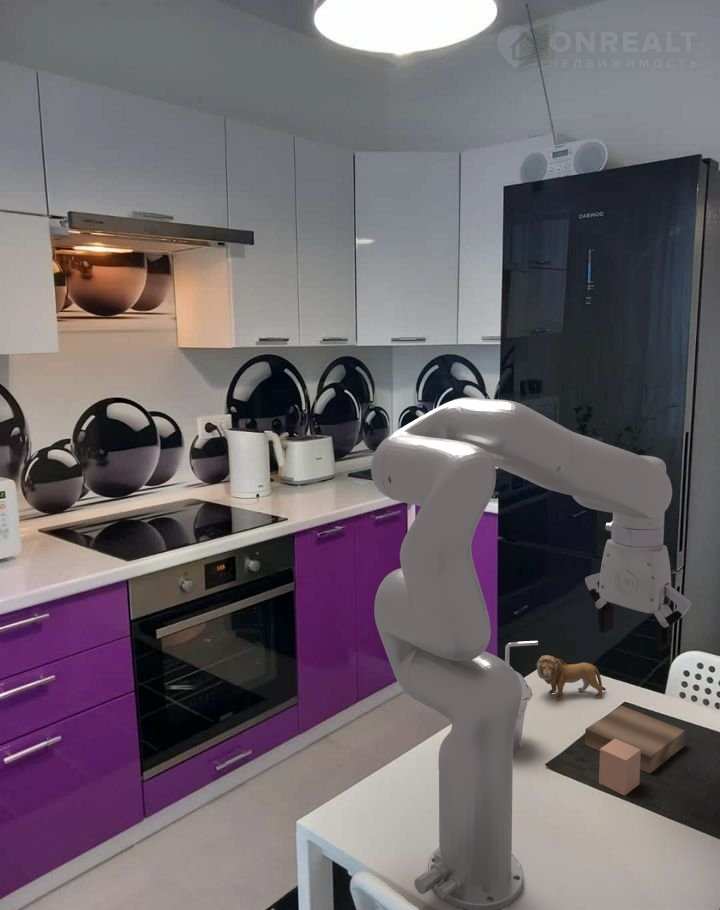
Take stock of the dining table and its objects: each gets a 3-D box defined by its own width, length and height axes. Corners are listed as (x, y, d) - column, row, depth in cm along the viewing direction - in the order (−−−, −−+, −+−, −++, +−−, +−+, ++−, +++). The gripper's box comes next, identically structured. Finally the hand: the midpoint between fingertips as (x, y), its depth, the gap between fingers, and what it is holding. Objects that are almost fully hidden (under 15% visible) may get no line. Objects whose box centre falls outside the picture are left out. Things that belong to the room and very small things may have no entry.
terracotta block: (624, 795, 116) (625, 760, 115) (598, 783, 119) (599, 748, 118) (639, 784, 119) (640, 749, 118) (613, 772, 122) (614, 738, 121)
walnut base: (649, 773, 121) (650, 756, 121) (585, 744, 130) (585, 728, 130) (684, 746, 129) (685, 730, 129) (621, 720, 138) (621, 705, 138)
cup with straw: (500, 727, 137) (501, 624, 133) (543, 745, 130) (545, 637, 127) (472, 745, 131) (473, 638, 128) (516, 765, 124) (518, 653, 121)
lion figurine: (542, 706, 144) (543, 662, 143) (531, 693, 149) (531, 651, 148) (612, 697, 147) (613, 655, 145) (598, 685, 152) (600, 644, 151)
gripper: (575, 529, 120) (572, 630, 122) (680, 551, 107) (675, 663, 109) (600, 521, 124) (597, 618, 127) (704, 541, 112) (698, 648, 114)
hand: (633, 639), depth 118 cm, fingers open, 9 cm apart
